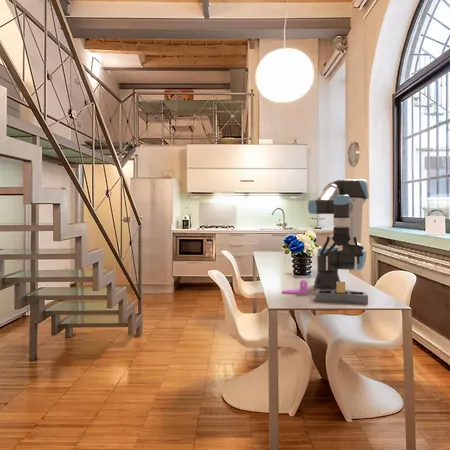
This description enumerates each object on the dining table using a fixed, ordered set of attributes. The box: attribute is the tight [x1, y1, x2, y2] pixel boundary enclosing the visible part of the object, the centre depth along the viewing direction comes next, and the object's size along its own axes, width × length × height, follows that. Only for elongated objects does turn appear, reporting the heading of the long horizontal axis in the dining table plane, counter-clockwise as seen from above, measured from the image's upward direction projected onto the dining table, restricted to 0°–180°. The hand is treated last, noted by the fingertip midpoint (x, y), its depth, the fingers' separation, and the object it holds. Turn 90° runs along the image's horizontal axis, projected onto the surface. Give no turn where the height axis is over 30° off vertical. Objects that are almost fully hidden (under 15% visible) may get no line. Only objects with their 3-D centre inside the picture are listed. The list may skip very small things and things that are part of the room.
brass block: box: [335, 281, 346, 294], centre depth 193 cm, size 4×4×9 cm
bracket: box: [282, 279, 308, 295], centre depth 212 cm, size 13×6×7 cm, turn 81°
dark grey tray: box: [315, 289, 369, 305], centre depth 193 cm, size 9×24×4 cm, turn 78°
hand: (341, 270), depth 193 cm, fingers open, 13 cm apart
